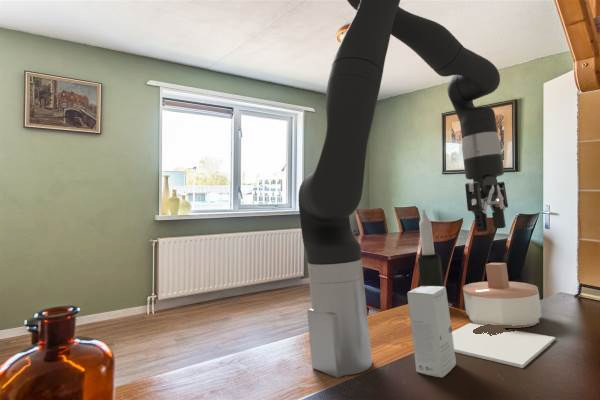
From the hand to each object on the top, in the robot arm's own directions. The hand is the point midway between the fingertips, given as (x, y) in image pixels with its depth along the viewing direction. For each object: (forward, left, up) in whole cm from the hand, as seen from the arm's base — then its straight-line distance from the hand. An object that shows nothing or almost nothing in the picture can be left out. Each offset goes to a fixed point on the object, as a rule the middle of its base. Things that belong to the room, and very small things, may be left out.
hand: (491, 229), depth 76 cm
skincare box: (-30, -2, -19) cm, 36 cm away
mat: (-15, -4, -19) cm, 25 cm away
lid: (0, 0, -13) cm, 13 cm away
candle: (+2, +17, -19) cm, 26 cm away
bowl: (0, 0, -19) cm, 19 cm away
